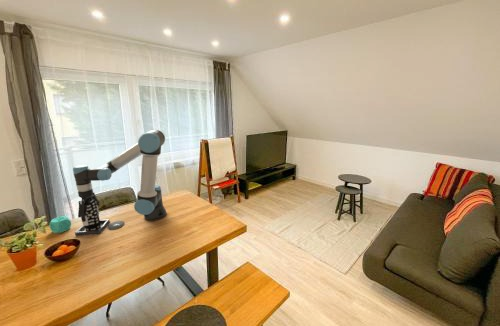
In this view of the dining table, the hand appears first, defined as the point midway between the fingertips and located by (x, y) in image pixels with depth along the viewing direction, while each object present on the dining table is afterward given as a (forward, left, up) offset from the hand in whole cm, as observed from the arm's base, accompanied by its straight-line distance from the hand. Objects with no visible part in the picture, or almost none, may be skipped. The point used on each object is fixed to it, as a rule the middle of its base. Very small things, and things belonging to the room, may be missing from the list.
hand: (91, 219), depth 142 cm
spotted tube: (0, 0, -7) cm, 7 cm away
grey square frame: (0, 0, -7) cm, 7 cm away
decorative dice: (+20, -2, -7) cm, 21 cm away
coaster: (-13, -2, -7) cm, 15 cm away
